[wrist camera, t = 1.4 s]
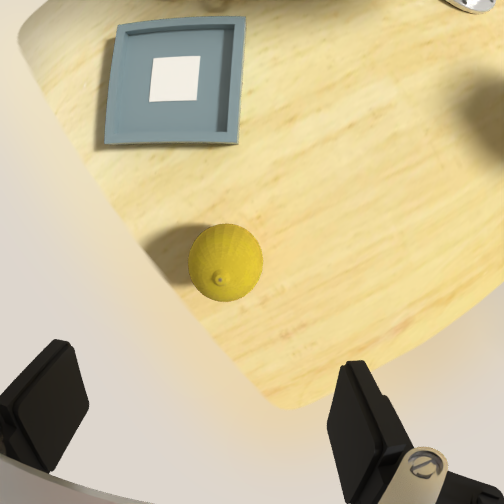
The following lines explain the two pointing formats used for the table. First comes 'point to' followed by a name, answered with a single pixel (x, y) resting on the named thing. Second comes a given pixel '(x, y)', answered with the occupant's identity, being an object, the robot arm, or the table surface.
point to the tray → (176, 81)
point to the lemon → (225, 262)
